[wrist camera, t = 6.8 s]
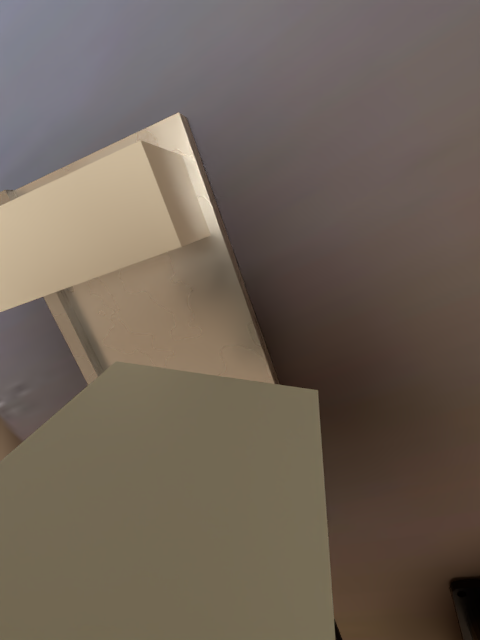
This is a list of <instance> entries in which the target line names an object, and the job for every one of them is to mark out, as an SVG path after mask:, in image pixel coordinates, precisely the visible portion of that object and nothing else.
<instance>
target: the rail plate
mask: <svg viewBox="0 0 480 640" xmlns="http://www.w3.org/2000/svg"><path fill="white" fill-rule="evenodd" d="M140 140H141V141H144V142H147V143H149V144H152V145H155V146H158V147H161V148H164V149H166V150H169V151H172V152H175V153H178V154H180V155H182V157H183V160H184V163H185V165H186V168H187V171H188V174H189V176H190V179H191V182H192V185H193V188H194V190H195V193H196V196H197V199H198V201H199V204H200V207H201V210H202V212H203V215H204V218H205V221H206V223H207V226H208V229H209V232H210V236H208V237H205V238H203V239H200V240H198V241H195V242H192V243H190V244H187V245H185V246H182V247H179V248H177V249H174V250H171V251H168V252H165V253H163V254H160V255H157V256H154V257H152V258H149V259H146V260H143V261H140V262H138V263H135V264H132V265H129V266H127V267H124V268H121V269H118V270H115V271H113V272H110V273H107V274H104V275H102V276H99V277H96V278H93V279H90V280H88V281H85V282H82V283H79V284H77V285H74V286H71V287H68V288H65V289H63V290H60V291H57V292H54V293H52V294H49V295H46V296H43V297H44V299H45V301H46V303H47V305H48V307H49V309H50V311H51V313H52V315H53V317H54V319H55V321H56V323H57V325H58V327H59V329H60V331H61V332H62V334H63V336H64V338H65V340H66V342H67V344H68V346H69V348H70V350H71V352H72V354H73V356H74V358H75V360H76V362H77V364H78V366H79V368H80V370H81V372H82V374H83V376H84V378H85V380H86V382H87V383H88V385H89V384H90V383H92V382H93V381H94V380H95V379H96V378H97V377H98V376H100V375H101V374H102V373H103V372H104V371H105V370H107V369H108V368H109V367H110V366H111V365H112V364H114V363H115V362H116V361H118V362H125V363H132V364H139V365H146V366H152V367H159V368H166V369H173V370H180V371H187V372H194V373H201V374H208V375H215V376H222V377H229V378H236V379H243V380H250V381H257V382H264V383H271V384H278V385H280V384H279V381H278V378H277V375H276V372H275V369H274V367H273V364H272V361H271V358H270V355H269V352H268V349H267V347H266V344H265V341H264V338H263V335H262V332H261V329H260V327H259V324H258V321H257V318H256V315H255V312H254V309H253V306H252V304H251V301H250V298H249V295H248V292H247V289H246V286H245V284H244V281H243V278H242V275H241V272H240V269H239V266H238V264H237V261H236V258H235V255H234V252H233V249H232V246H231V243H230V241H229V238H228V235H227V232H226V229H225V226H224V223H223V221H222V218H221V215H220V212H219V209H218V206H217V203H216V201H215V198H214V195H213V192H212V189H211V186H210V183H209V180H208V178H207V175H206V172H205V169H204V166H203V163H202V160H201V158H200V155H199V152H198V149H197V146H196V143H195V140H194V138H193V135H192V132H191V129H190V126H189V123H188V120H187V118H186V117H185V116H183V115H182V114H180V113H177V114H175V115H172V116H170V117H168V118H166V119H164V120H162V121H160V122H158V123H156V124H154V125H151V126H149V127H147V128H145V129H143V130H141V131H139V132H137V133H135V134H132V135H130V136H128V137H126V138H124V139H122V140H120V141H118V142H116V143H113V144H111V145H109V146H107V147H105V148H103V149H101V150H99V151H97V152H95V153H92V154H90V155H88V156H86V157H84V158H82V159H80V160H78V161H76V162H73V163H71V164H69V165H67V166H65V167H63V168H61V169H59V170H57V171H55V172H52V173H50V174H48V175H46V176H44V177H42V178H40V179H38V180H36V181H33V182H31V183H29V184H27V185H25V186H23V187H21V188H19V189H17V190H4V191H2V192H0V206H1V205H3V204H5V203H7V202H9V201H11V200H14V199H16V198H18V197H20V196H22V195H24V194H26V193H29V192H31V191H33V190H35V189H37V188H39V187H41V186H44V185H46V184H48V183H50V182H52V181H54V180H56V179H59V178H61V177H63V176H65V175H67V174H69V173H71V172H74V171H76V170H78V169H80V168H82V167H84V166H86V165H89V164H91V163H93V162H95V161H97V160H99V159H101V158H104V157H106V156H108V155H110V154H112V153H114V152H116V151H119V150H121V149H123V148H125V147H127V146H129V145H132V144H134V143H136V142H138V141H140ZM327 527H328V521H327ZM328 537H329V533H328Z"/></svg>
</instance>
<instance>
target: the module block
mask: <svg viewBox="0 0 480 640" xmlns="http://www.w3.org/2000/svg"><path fill="white" fill-rule="evenodd" d="M0 640H335V626H334V612H333V598H332V584H331V569H330V555H329V541H328V527H327V512H326V498H325V484H324V470H323V455H322V441H321V427H320V413H319V399H318V390H313V389H306V388H299V387H292V386H285V385H278V384H271V383H264V382H257V381H250V380H243V379H236V378H229V377H222V376H215V375H208V374H201V373H194V372H187V371H180V370H173V369H166V368H159V367H152V366H146V365H139V364H132V363H125V362H118V361H116V362H115V363H114V364H112V365H111V366H110V367H109V368H108V369H107V370H105V371H104V372H103V373H102V374H101V375H100V376H98V377H97V378H96V379H95V380H94V381H93V382H92V383H90V384H89V385H88V386H87V387H86V388H85V389H83V390H82V391H81V392H80V393H79V394H78V395H77V396H75V397H74V398H73V399H72V400H71V401H70V402H68V403H67V404H66V405H65V406H64V407H63V408H62V409H60V410H59V411H58V412H57V413H56V414H55V415H53V416H52V417H51V418H50V419H49V420H48V421H47V422H45V423H44V424H43V425H42V426H41V427H40V428H38V429H37V430H36V431H35V432H34V433H33V434H32V435H30V436H29V437H28V438H27V439H26V440H25V441H23V442H22V443H21V444H20V445H19V446H18V447H17V448H15V449H14V450H13V451H12V452H11V453H10V454H8V455H7V456H6V457H5V458H4V459H3V460H2V461H0Z"/></svg>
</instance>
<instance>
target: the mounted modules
mask: <svg viewBox="0 0 480 640" xmlns="http://www.w3.org/2000/svg"><path fill="white" fill-rule="evenodd" d="M208 236H210V232H209V229H208V226H207V223H206V221H205V218H204V215H203V212H202V210H201V207H200V204H199V201H198V199H197V196H196V193H195V190H194V188H193V185H192V182H191V179H190V176H189V174H188V171H187V168H186V165H185V163H184V160H183V157H182V155H180V154H178V153H175V152H172V151H169V150H166V149H164V148H161V147H158V146H155V145H152V144H149V143H147V142H144V141H141V140H140V141H138V142H136V143H134V144H132V145H129V146H127V147H125V148H123V149H121V150H119V151H116V152H114V153H112V154H110V155H108V156H106V157H104V158H101V159H99V160H97V161H95V162H93V163H91V164H89V165H86V166H84V167H82V168H80V169H78V170H76V171H74V172H71V173H69V174H67V175H65V176H63V177H61V178H59V179H56V180H54V181H52V182H50V183H48V184H46V185H44V186H41V187H39V188H37V189H35V190H33V191H31V192H29V193H26V194H24V195H22V196H20V197H18V198H16V199H14V200H11V201H9V202H7V203H5V204H3V205H1V206H0V312H2V311H4V310H7V309H10V308H13V307H16V306H18V305H21V304H24V303H27V302H29V301H32V300H35V299H38V298H41V297H43V296H46V295H49V294H52V293H54V292H57V291H60V290H63V289H65V288H68V287H71V286H74V285H77V284H79V283H82V282H85V281H88V280H90V279H93V278H96V277H99V276H102V275H104V274H107V273H110V272H113V271H115V270H118V269H121V268H124V267H127V266H129V265H132V264H135V263H138V262H140V261H143V260H146V259H149V258H152V257H154V256H157V255H160V254H163V253H165V252H168V251H171V250H174V249H177V248H179V247H182V246H185V245H187V244H190V243H192V242H195V241H198V240H200V239H203V238H205V237H208Z"/></svg>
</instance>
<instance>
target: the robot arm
mask: <svg viewBox="0 0 480 640" xmlns="http://www.w3.org/2000/svg"><path fill="white" fill-rule="evenodd" d="M450 590H451V594H452V598H453V602H454V606H455V610H456V614H457V618H458V622H459V626H460V630H461V634H462V638H463V640H480V580H466V581H455V582H453V583H451V585H450ZM334 626H335V640H342V637H341V635H340V632H339V629H338V627H337V624H336V622H335V619H334Z"/></svg>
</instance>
